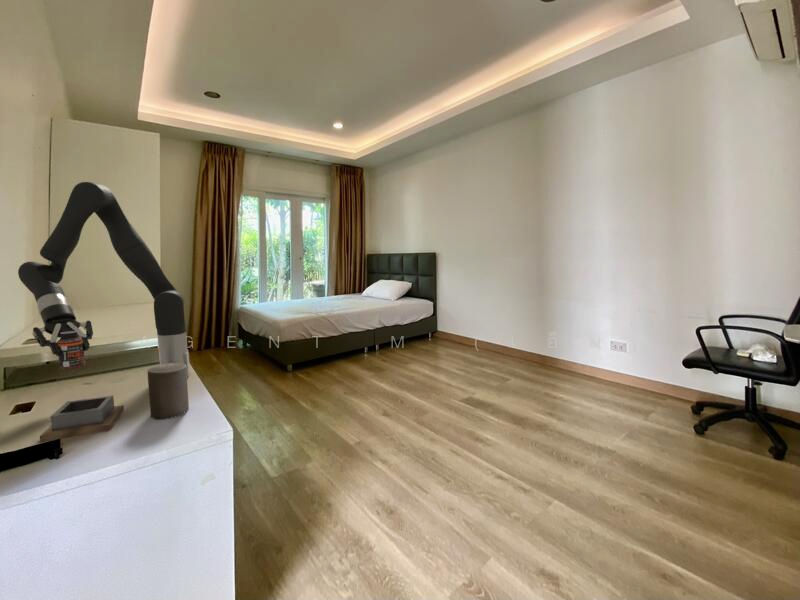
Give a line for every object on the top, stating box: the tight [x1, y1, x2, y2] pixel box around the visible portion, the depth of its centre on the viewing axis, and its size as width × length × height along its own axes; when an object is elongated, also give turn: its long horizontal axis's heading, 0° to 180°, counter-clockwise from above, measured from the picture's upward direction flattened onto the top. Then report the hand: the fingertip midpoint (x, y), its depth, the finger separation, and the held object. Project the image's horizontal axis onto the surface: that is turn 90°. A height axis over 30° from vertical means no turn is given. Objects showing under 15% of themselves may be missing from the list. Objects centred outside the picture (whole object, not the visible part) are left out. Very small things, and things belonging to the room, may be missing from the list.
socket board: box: [39, 405, 125, 442], centre depth 98 cm, size 14×14×2 cm
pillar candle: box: [147, 363, 190, 420], centre depth 105 cm, size 10×10×15 cm
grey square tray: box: [50, 395, 115, 431], centre depth 98 cm, size 10×10×4 cm
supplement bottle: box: [56, 331, 86, 371], centre depth 111 cm, size 6×6×11 cm
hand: (72, 351), depth 110 cm, fingers closed on supplement bottle, 6 cm apart
